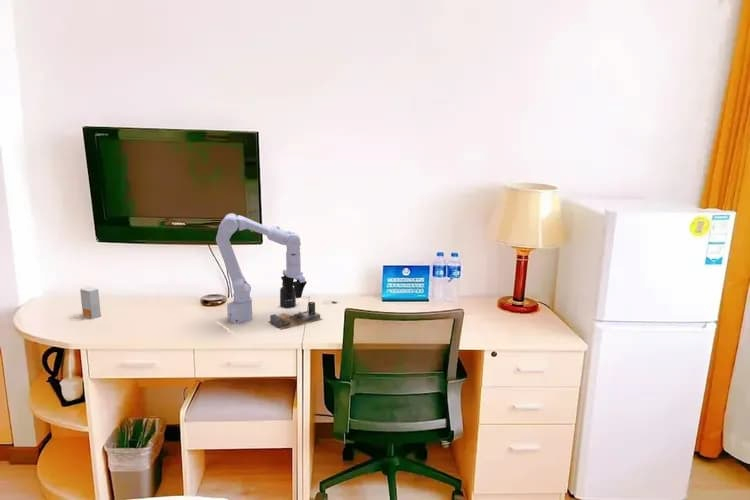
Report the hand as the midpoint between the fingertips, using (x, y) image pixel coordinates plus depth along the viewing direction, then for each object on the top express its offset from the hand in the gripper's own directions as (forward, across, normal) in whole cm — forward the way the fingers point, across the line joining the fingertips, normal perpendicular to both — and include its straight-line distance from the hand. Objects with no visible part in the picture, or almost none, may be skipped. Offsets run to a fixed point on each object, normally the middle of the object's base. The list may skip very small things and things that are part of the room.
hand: (293, 295), depth 229 cm
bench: (+10, -4, +2) cm, 11 cm away
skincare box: (+11, +51, +66) cm, 84 cm away
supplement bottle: (+11, +14, -5) cm, 18 cm away
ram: (+9, -4, -4) cm, 11 cm away
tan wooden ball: (+9, -4, +7) cm, 12 cm away
